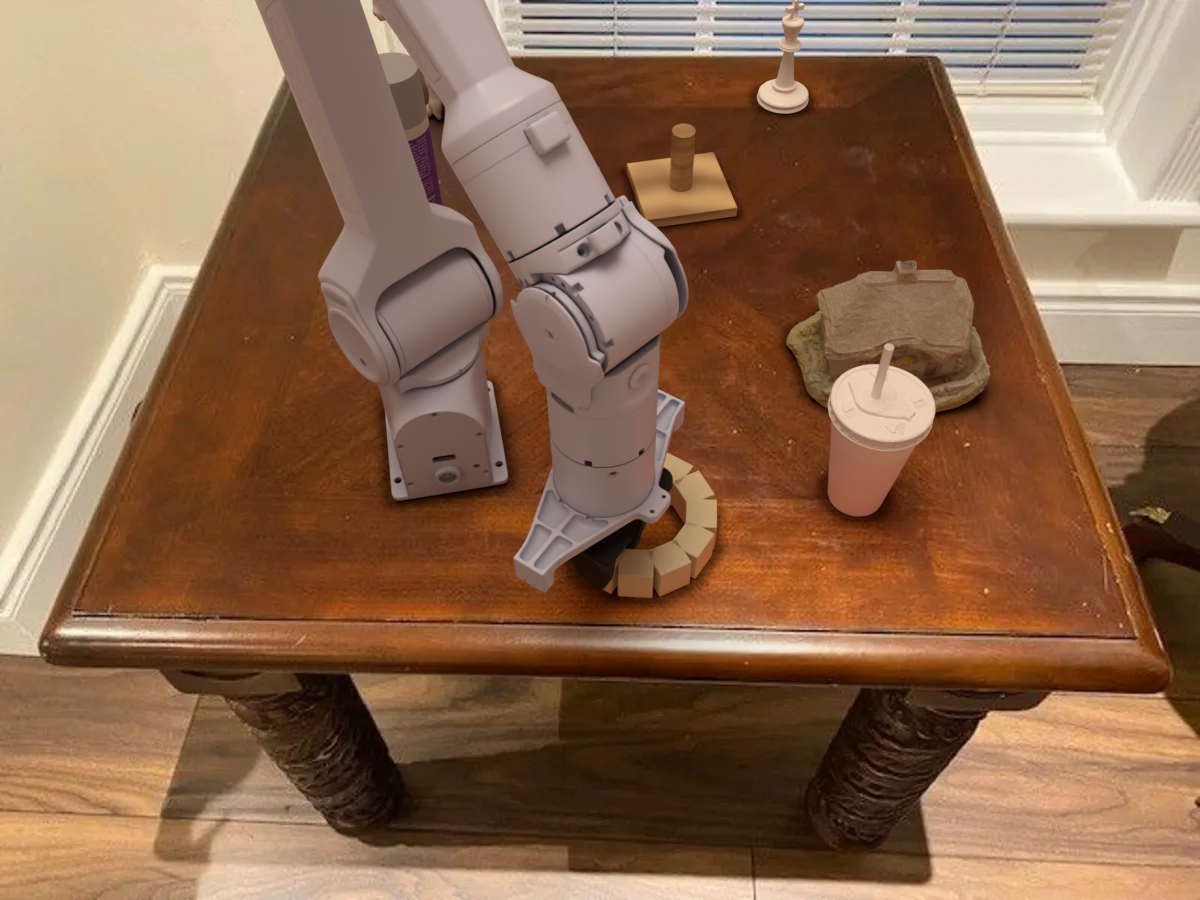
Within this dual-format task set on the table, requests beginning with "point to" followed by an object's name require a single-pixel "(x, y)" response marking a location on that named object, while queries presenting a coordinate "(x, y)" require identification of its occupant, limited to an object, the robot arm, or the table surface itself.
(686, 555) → the block ring
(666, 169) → the post stand
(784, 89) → the chess piece
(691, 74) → the table surface
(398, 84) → the container
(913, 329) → the ceramic model
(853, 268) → the table surface
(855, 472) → the smoothie
